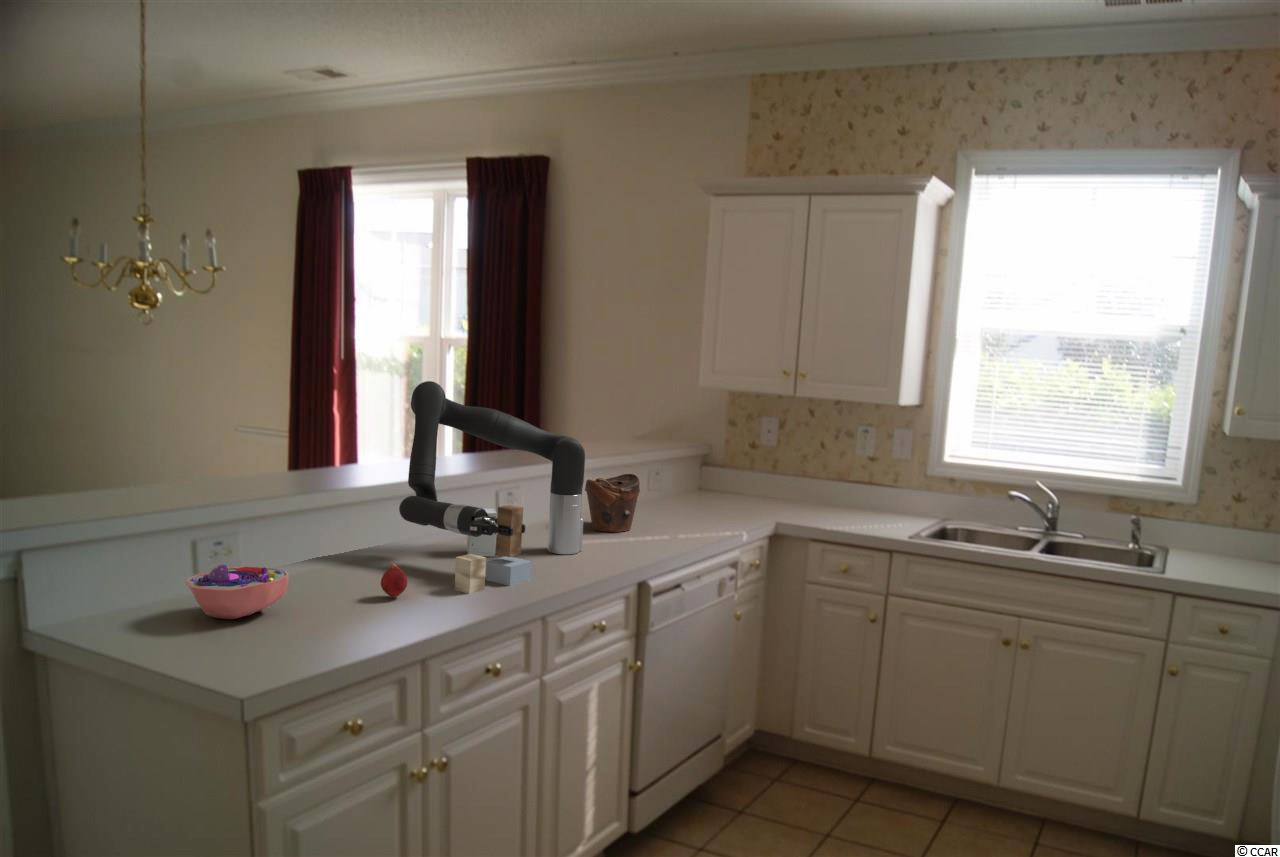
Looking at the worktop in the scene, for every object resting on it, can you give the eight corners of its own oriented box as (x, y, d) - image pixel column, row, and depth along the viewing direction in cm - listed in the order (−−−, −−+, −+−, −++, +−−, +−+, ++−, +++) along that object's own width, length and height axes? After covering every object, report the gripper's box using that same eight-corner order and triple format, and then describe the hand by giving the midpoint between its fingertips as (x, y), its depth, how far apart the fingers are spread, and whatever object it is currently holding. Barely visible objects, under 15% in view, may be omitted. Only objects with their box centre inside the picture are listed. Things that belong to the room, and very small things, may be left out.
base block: (506, 574, 227) (507, 556, 227) (530, 580, 223) (531, 561, 223) (485, 580, 220) (486, 561, 220) (510, 586, 216) (510, 566, 216)
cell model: (302, 617, 184) (303, 564, 183) (200, 635, 170) (201, 578, 169) (271, 598, 196) (272, 548, 195) (174, 613, 182) (174, 559, 181)
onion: (397, 593, 205) (398, 559, 204) (412, 598, 201) (413, 564, 201) (375, 597, 200) (376, 563, 200) (390, 603, 197) (391, 568, 196)
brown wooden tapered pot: (574, 531, 284) (576, 476, 282) (595, 520, 303) (597, 469, 301) (626, 537, 279) (629, 481, 277) (644, 526, 298) (647, 474, 296)
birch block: (469, 585, 214) (471, 553, 214) (484, 589, 212) (485, 557, 211) (454, 589, 210) (455, 557, 210) (469, 594, 208) (470, 560, 207)
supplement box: (468, 557, 242) (470, 512, 241) (466, 551, 249) (468, 507, 248) (495, 557, 244) (497, 512, 243) (492, 550, 251) (494, 507, 250)
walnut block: (506, 551, 224) (509, 504, 223) (520, 554, 222) (523, 507, 221) (495, 554, 220) (497, 507, 219) (509, 557, 218) (512, 509, 217)
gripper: (447, 509, 221) (501, 519, 213) (484, 502, 233) (536, 511, 225) (446, 538, 222) (499, 549, 213) (482, 530, 234) (534, 540, 226)
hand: (518, 530), depth 219 cm, fingers closed on walnut block, 4 cm apart
